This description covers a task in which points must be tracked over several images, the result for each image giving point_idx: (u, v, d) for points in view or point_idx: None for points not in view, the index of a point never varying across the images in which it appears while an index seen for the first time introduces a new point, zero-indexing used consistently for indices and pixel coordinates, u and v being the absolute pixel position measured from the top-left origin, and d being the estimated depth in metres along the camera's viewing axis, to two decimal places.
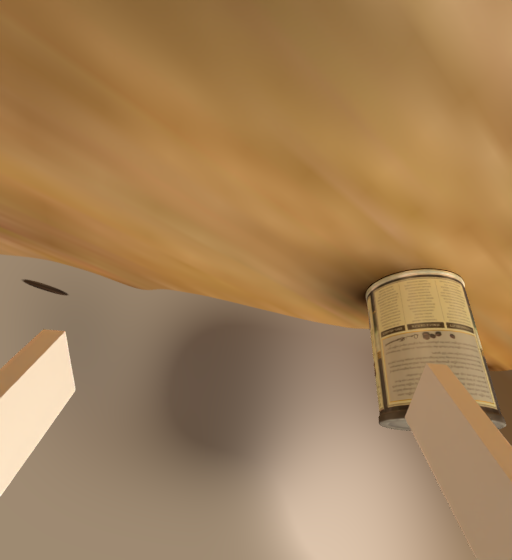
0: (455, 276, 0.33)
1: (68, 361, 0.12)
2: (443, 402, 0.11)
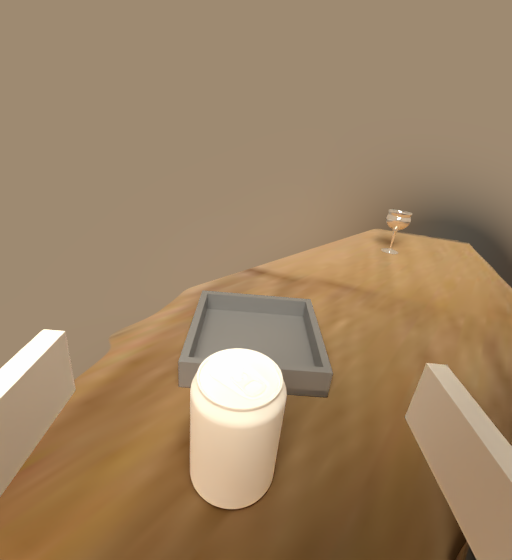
0: None
1: (68, 361, 0.12)
2: (444, 402, 0.11)
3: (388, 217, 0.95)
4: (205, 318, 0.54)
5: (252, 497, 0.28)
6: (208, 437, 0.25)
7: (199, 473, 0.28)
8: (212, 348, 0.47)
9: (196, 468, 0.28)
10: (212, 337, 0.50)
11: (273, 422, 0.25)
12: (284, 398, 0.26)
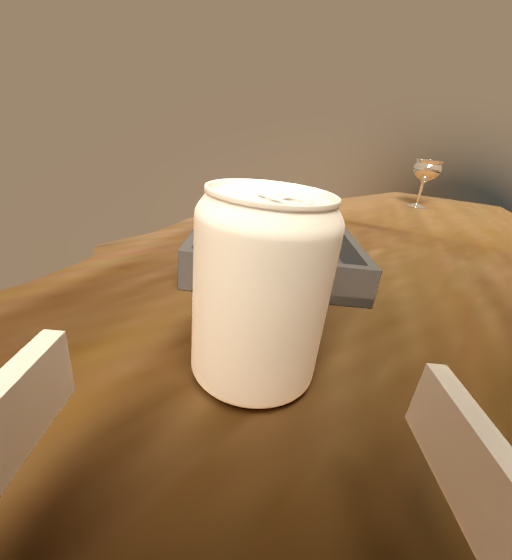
0: None
1: (68, 361, 0.12)
2: (444, 402, 0.11)
3: (416, 165, 0.85)
4: None
5: (286, 391, 0.18)
6: (223, 269, 0.15)
7: (205, 349, 0.18)
8: None
9: (201, 344, 0.18)
10: None
11: (329, 248, 0.15)
12: (343, 223, 0.17)
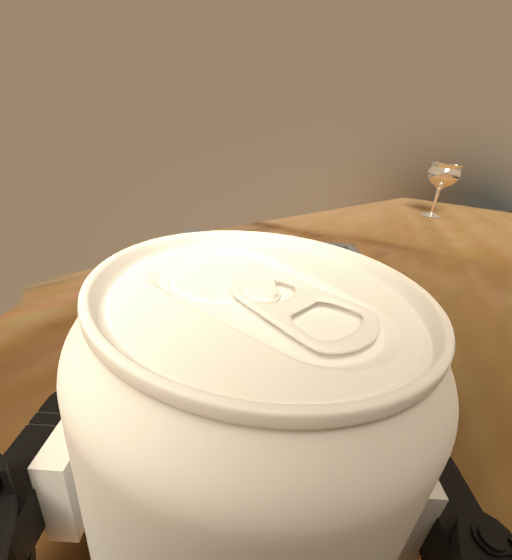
0: None
1: None
2: None
3: (432, 170, 0.75)
4: None
5: None
6: (116, 555, 0.05)
7: None
8: None
9: None
10: None
11: (436, 482, 0.05)
12: (452, 373, 0.06)
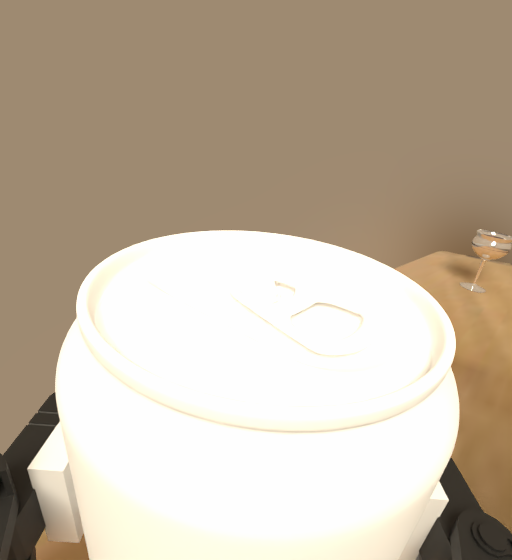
0: None
1: None
2: None
3: (477, 241, 0.67)
4: None
5: None
6: (115, 556, 0.05)
7: None
8: None
9: None
10: None
11: (437, 483, 0.05)
12: (452, 373, 0.06)
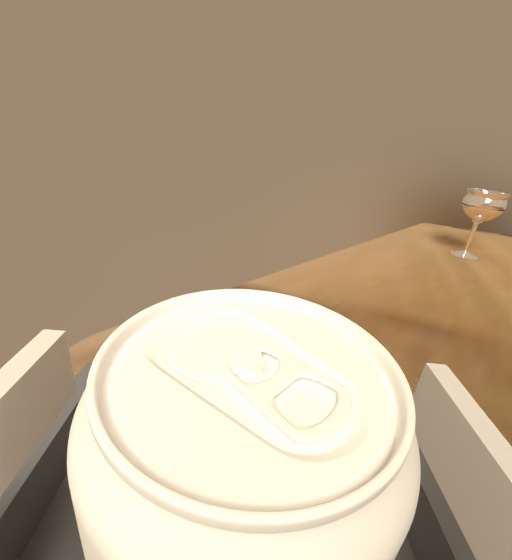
0: None
1: (68, 361, 0.12)
2: (443, 402, 0.11)
3: (468, 200, 0.58)
4: None
5: None
6: None
7: None
8: None
9: None
10: None
11: (398, 551, 0.06)
12: (416, 442, 0.07)
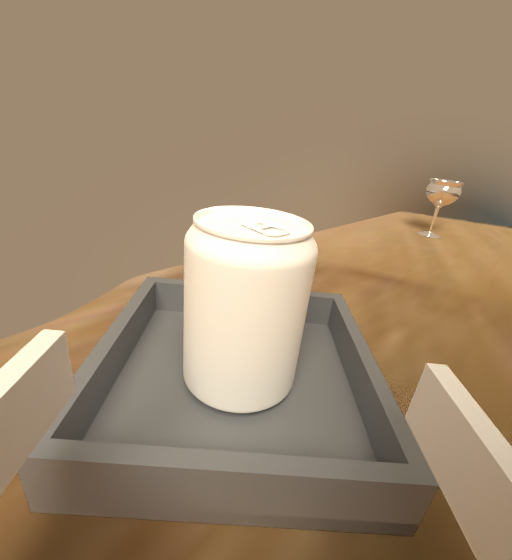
0: None
1: (68, 361, 0.12)
2: (444, 402, 0.11)
3: (430, 187, 0.70)
4: (147, 327, 0.29)
5: (269, 396, 0.20)
6: (210, 292, 0.17)
7: (196, 361, 0.20)
8: (145, 395, 0.22)
9: (192, 356, 0.20)
10: (151, 368, 0.24)
11: (303, 273, 0.18)
12: (316, 249, 0.19)
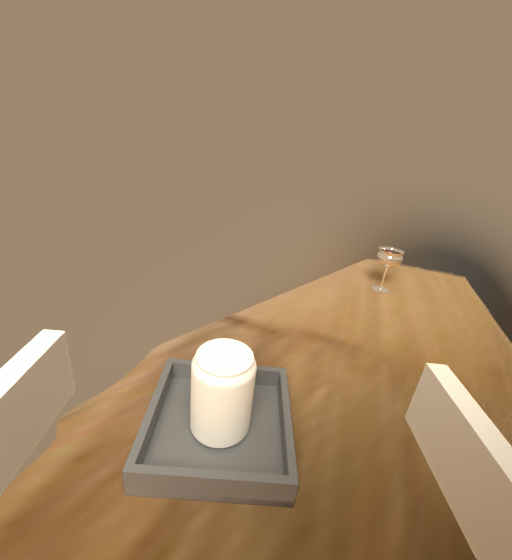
0: None
1: (68, 361, 0.12)
2: (444, 402, 0.11)
3: (379, 255, 0.90)
4: (168, 392, 0.49)
5: (233, 440, 0.41)
6: (203, 395, 0.38)
7: (196, 422, 0.41)
8: (170, 437, 0.42)
9: (194, 420, 0.41)
10: (172, 420, 0.45)
11: (246, 385, 0.38)
12: (254, 371, 0.39)
